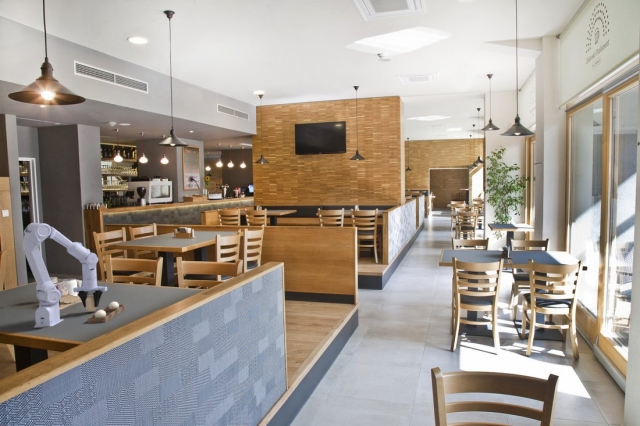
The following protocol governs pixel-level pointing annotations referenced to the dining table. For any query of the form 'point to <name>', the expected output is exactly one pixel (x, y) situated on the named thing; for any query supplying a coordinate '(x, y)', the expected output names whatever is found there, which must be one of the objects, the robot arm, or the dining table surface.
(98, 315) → the egg left
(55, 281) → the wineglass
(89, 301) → the beige jar
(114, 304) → the egg right
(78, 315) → the dining table surface
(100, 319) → the holder
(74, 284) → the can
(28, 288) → the dining table surface
